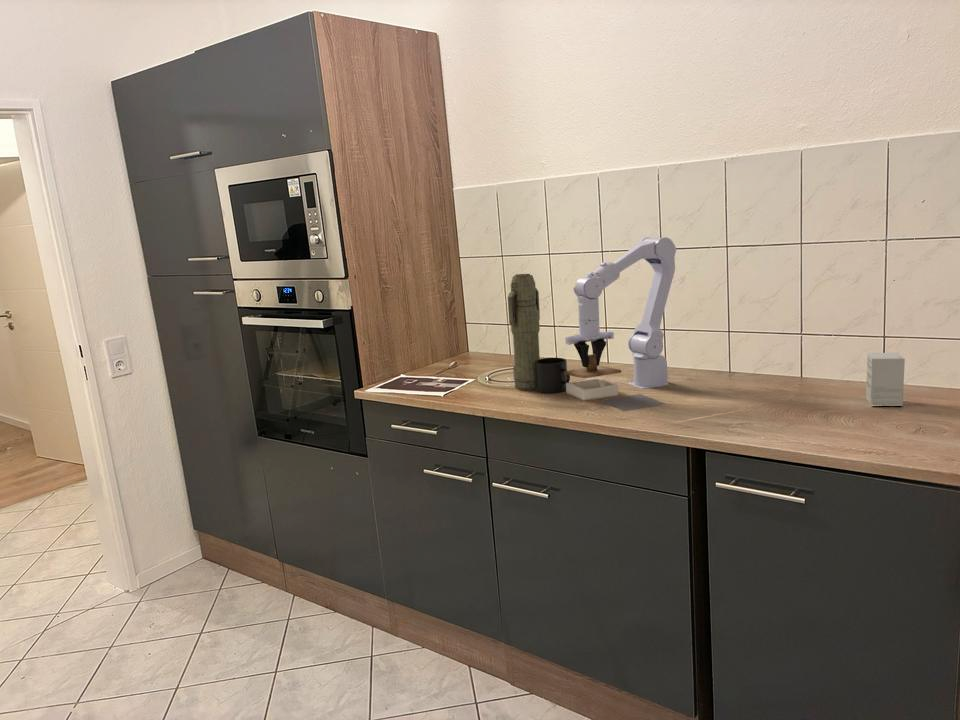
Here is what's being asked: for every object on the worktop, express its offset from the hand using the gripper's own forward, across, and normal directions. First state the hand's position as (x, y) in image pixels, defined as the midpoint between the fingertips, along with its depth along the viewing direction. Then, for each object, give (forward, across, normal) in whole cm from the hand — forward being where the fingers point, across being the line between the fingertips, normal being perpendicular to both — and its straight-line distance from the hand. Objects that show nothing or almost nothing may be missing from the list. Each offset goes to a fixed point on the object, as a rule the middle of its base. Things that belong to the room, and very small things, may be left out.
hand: (590, 366), depth 212 cm
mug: (+9, -6, +12) cm, 16 cm away
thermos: (+9, -11, +21) cm, 25 cm away
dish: (+9, 0, 0) cm, 9 cm away
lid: (+2, 0, -1) cm, 2 cm away
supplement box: (+9, +57, -49) cm, 76 cm away
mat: (+9, +5, -14) cm, 17 cm away
